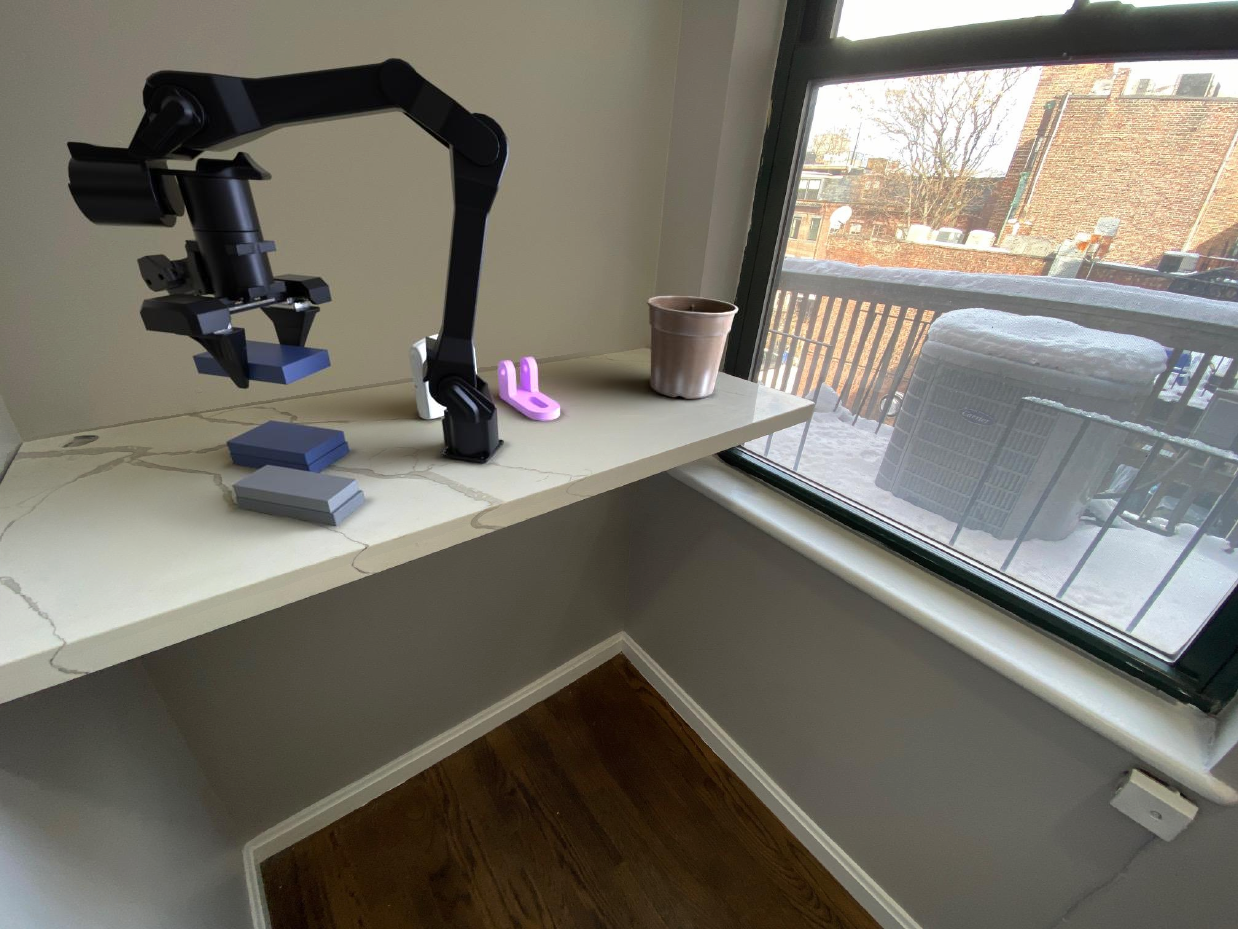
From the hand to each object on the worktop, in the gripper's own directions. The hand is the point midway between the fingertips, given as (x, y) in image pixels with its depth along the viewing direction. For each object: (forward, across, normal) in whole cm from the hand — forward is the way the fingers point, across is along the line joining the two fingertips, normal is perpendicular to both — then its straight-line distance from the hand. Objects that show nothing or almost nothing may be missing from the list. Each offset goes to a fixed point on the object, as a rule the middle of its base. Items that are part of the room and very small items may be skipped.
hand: (270, 377), depth 59 cm
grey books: (+12, +7, +7) cm, 15 cm away
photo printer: (+12, -23, +9) cm, 27 cm away
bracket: (+12, -29, +21) cm, 38 cm away
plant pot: (+12, -47, +45) cm, 66 cm away
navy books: (+12, -2, -2) cm, 12 cm away
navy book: (-1, 0, 0) cm, 1 cm away
